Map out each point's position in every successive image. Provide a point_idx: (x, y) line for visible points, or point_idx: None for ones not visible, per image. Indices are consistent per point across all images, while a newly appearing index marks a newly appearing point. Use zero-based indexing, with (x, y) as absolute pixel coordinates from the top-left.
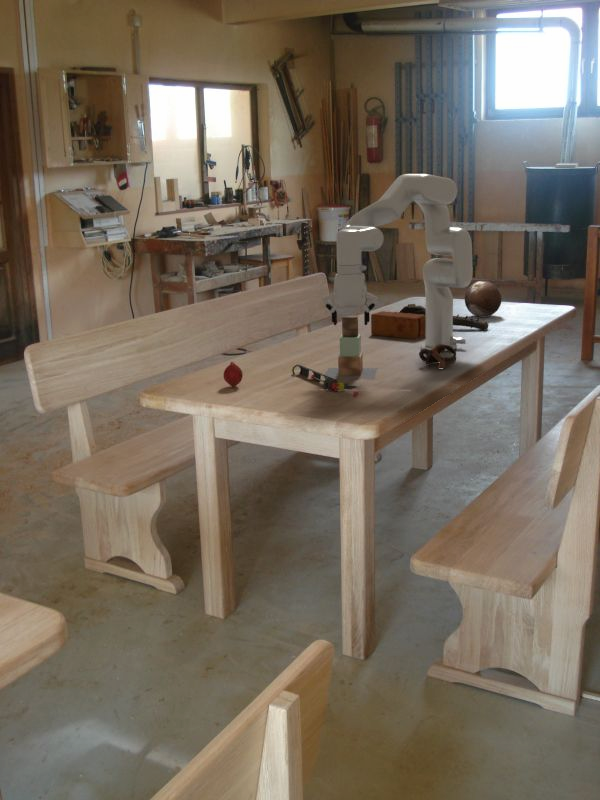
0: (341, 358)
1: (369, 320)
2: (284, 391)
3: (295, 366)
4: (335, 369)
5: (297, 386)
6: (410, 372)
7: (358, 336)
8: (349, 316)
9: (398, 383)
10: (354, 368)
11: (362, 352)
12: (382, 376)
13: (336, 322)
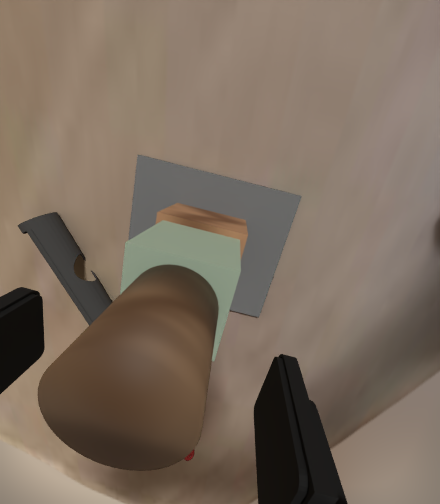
0: None
1: (311, 405)
2: (48, 362)
3: (23, 232)
4: (160, 187)
5: (70, 331)
6: (389, 257)
7: (216, 333)
8: (113, 393)
9: (309, 358)
10: None
11: (246, 239)
12: (290, 286)
13: (30, 345)
